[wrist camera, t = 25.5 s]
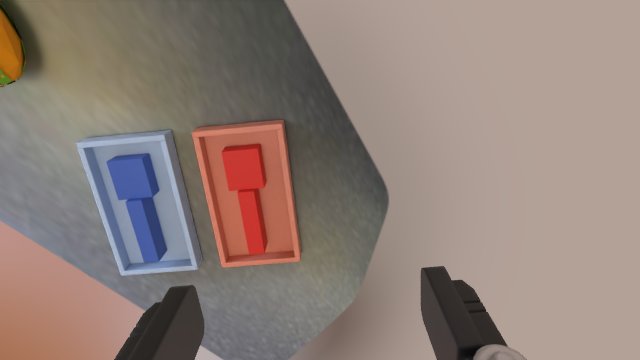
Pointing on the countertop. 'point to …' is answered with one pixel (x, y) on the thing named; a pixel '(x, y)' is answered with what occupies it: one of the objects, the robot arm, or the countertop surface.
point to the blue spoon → (139, 201)
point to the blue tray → (167, 201)
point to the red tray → (273, 196)
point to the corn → (10, 50)
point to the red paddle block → (248, 190)
